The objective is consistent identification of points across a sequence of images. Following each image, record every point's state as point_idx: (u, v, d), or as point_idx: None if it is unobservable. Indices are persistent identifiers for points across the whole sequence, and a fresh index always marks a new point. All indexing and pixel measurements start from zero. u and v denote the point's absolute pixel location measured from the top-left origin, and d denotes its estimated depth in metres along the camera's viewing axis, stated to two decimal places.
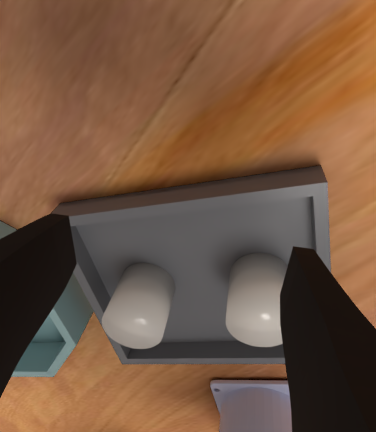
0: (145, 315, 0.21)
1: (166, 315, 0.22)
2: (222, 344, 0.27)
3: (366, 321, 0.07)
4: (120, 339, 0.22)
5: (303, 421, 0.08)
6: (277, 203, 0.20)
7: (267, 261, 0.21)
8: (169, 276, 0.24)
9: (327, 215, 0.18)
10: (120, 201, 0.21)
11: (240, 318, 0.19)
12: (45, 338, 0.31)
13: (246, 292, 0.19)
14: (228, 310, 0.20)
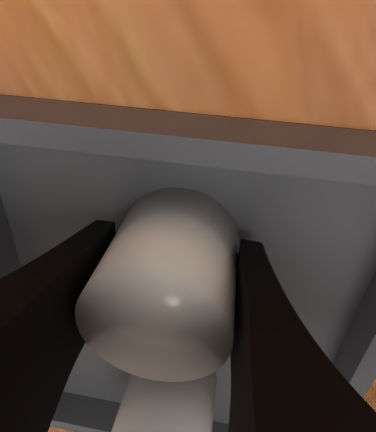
0: None
1: (166, 414, 0.13)
2: (345, 346, 0.13)
3: (290, 309, 0.07)
4: None
5: (233, 408, 0.08)
6: (24, 176, 0.11)
7: None
8: None
9: None
10: None
11: (130, 355, 0.09)
12: None
13: None
14: None
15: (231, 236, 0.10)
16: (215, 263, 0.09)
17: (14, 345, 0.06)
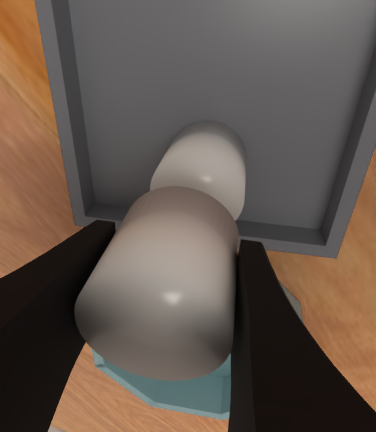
0: (169, 166, 0.14)
1: (207, 142, 0.14)
2: (367, 81, 0.14)
3: (290, 309, 0.07)
4: None
5: (233, 407, 0.08)
6: None
7: None
8: (194, 123, 0.17)
9: None
10: None
11: (130, 354, 0.09)
12: None
13: None
14: None
15: (230, 234, 0.10)
16: (215, 262, 0.09)
17: (14, 345, 0.06)
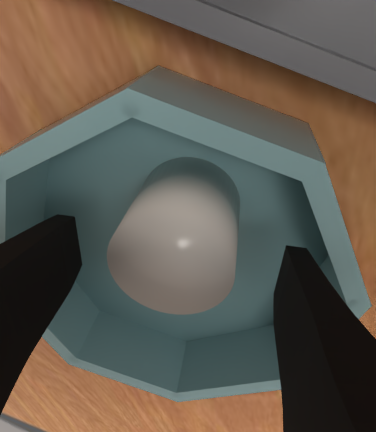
0: None
1: None
2: None
3: (356, 319, 0.07)
4: None
5: (293, 419, 0.08)
6: None
7: None
8: None
9: None
10: None
11: (150, 291, 0.11)
12: None
13: None
14: None
15: (233, 196, 0.12)
16: (221, 213, 0.11)
17: None
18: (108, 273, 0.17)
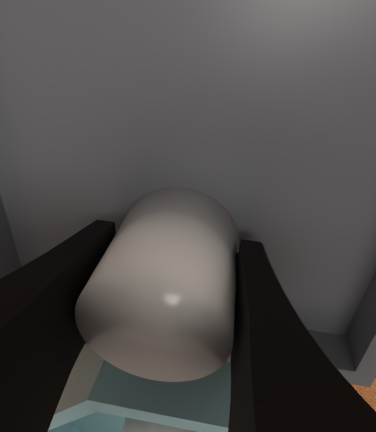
0: (103, 289, 0.08)
1: (171, 243, 0.08)
2: None
3: (290, 309, 0.07)
4: (190, 368, 0.09)
5: (233, 408, 0.08)
6: None
7: None
8: (159, 191, 0.11)
9: None
10: None
11: None
12: None
13: None
14: None
15: None
16: None
17: (14, 345, 0.06)
18: None
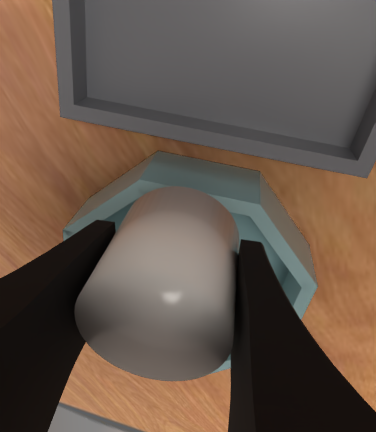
0: (103, 288, 0.08)
1: (171, 242, 0.08)
2: None
3: (290, 309, 0.07)
4: (189, 367, 0.09)
5: (233, 408, 0.08)
6: None
7: None
8: (159, 190, 0.11)
9: None
10: None
11: None
12: (279, 270, 0.21)
13: None
14: None
15: None
16: None
17: (14, 345, 0.06)
18: None
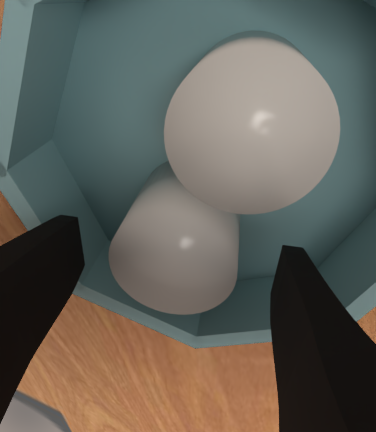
0: (133, 230, 0.10)
1: (187, 195, 0.10)
2: None
3: (351, 318, 0.07)
4: (202, 300, 0.11)
5: (289, 418, 0.08)
6: None
7: None
8: None
9: None
10: None
11: (211, 175, 0.09)
12: (360, 205, 0.13)
13: None
14: (190, 188, 0.09)
15: None
16: None
17: None
18: (128, 190, 0.14)
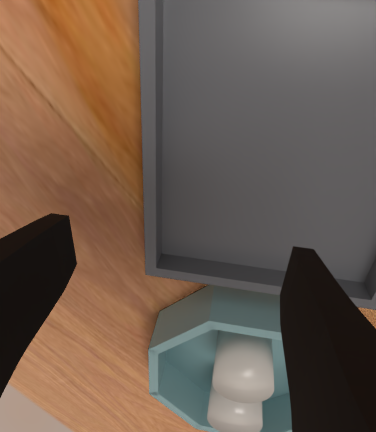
0: (214, 412, 0.25)
1: None
2: None
3: (366, 321, 0.07)
4: (252, 430, 0.25)
5: (303, 421, 0.08)
6: (186, 30, 0.16)
7: (217, 337, 0.25)
8: None
9: None
10: None
11: (235, 395, 0.23)
12: None
13: None
14: None
15: None
16: (261, 355, 0.22)
17: None
18: (206, 372, 0.29)
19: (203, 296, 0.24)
